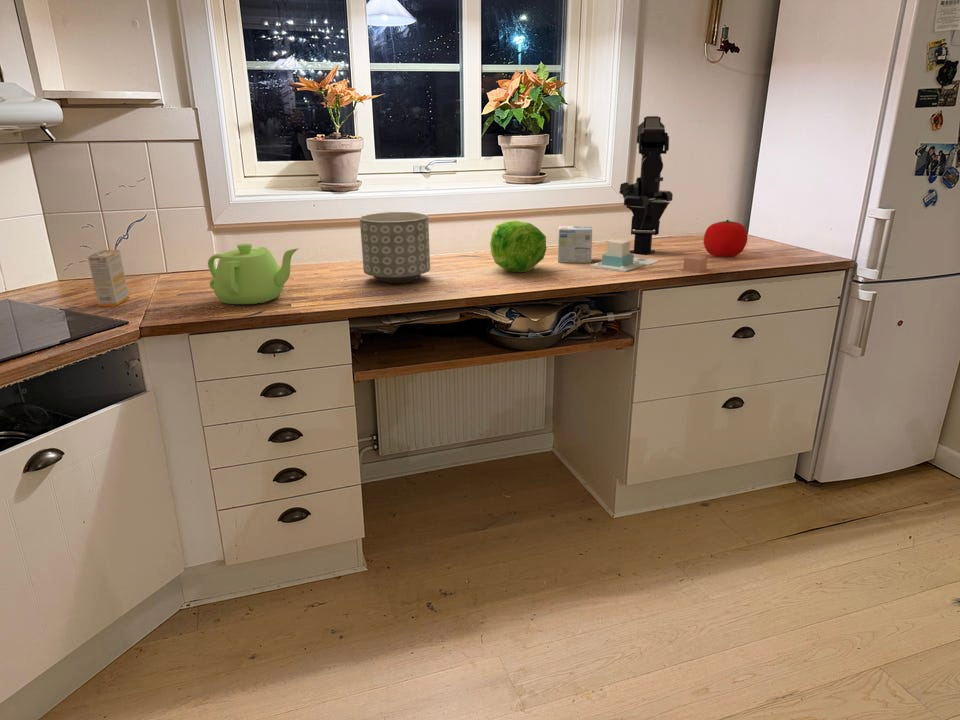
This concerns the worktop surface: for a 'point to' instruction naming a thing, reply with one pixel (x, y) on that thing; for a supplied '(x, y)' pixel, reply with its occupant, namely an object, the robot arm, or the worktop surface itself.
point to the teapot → (249, 275)
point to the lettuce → (517, 246)
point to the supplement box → (108, 277)
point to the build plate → (623, 269)
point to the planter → (395, 245)
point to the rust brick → (695, 263)
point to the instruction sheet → (644, 261)
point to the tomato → (725, 239)
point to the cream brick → (618, 248)
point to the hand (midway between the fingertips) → (646, 227)
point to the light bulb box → (575, 244)
